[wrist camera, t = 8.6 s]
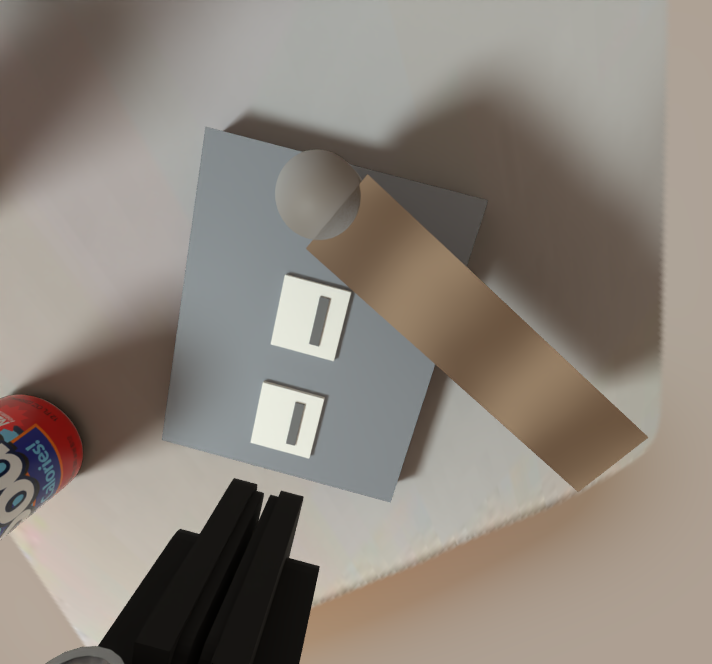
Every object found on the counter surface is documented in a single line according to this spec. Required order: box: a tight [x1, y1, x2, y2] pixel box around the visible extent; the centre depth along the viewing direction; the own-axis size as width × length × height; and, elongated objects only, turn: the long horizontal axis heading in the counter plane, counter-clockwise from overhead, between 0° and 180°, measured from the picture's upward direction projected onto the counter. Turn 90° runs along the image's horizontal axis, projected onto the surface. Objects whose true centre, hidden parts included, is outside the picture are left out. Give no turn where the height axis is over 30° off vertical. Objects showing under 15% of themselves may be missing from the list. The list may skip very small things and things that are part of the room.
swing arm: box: [275, 149, 648, 492], centre depth 21 cm, size 20×4×4 cm, turn 49°
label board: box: [162, 127, 488, 503], centre depth 26 cm, size 20×16×4 cm
